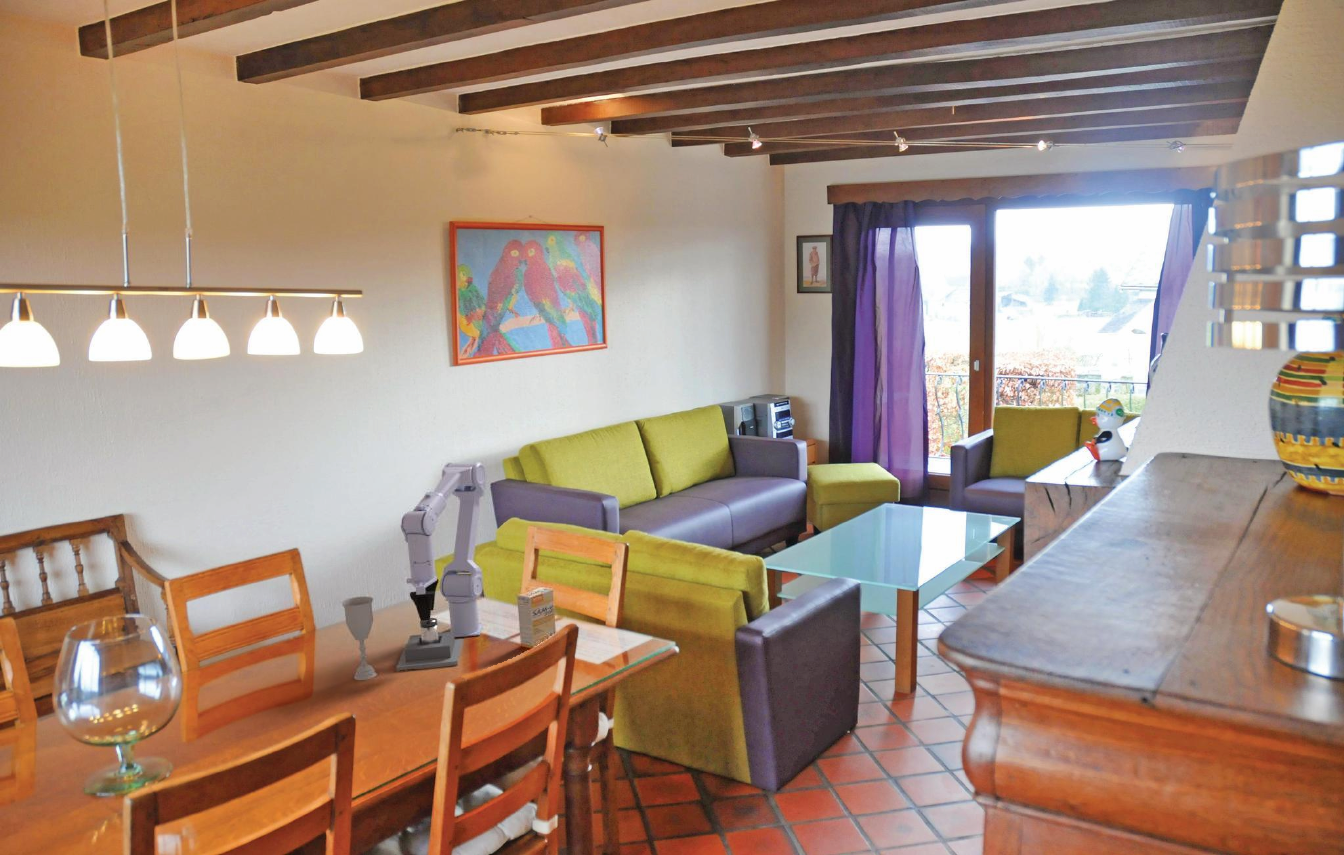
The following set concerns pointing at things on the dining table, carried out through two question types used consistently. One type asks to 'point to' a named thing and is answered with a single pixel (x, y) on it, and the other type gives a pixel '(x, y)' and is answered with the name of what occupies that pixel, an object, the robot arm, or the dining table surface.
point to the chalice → (360, 629)
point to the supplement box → (536, 616)
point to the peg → (429, 631)
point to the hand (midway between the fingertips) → (427, 615)
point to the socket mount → (430, 652)
